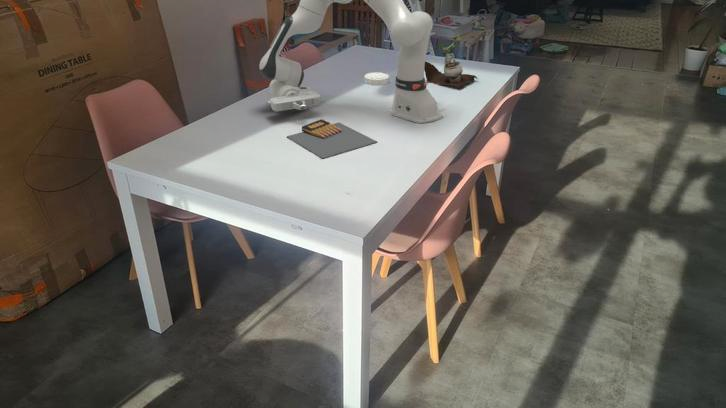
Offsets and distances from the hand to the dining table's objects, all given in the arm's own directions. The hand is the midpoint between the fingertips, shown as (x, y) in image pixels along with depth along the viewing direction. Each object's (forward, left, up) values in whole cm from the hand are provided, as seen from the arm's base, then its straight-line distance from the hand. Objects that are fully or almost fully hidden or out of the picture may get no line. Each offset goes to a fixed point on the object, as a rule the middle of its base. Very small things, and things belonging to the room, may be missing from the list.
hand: (302, 107), depth 206 cm
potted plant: (+4, -87, -7) cm, 87 cm away
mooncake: (+26, -58, -7) cm, 64 cm away
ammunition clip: (-7, +1, -5) cm, 9 cm away
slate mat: (-21, +1, -6) cm, 22 cm away
